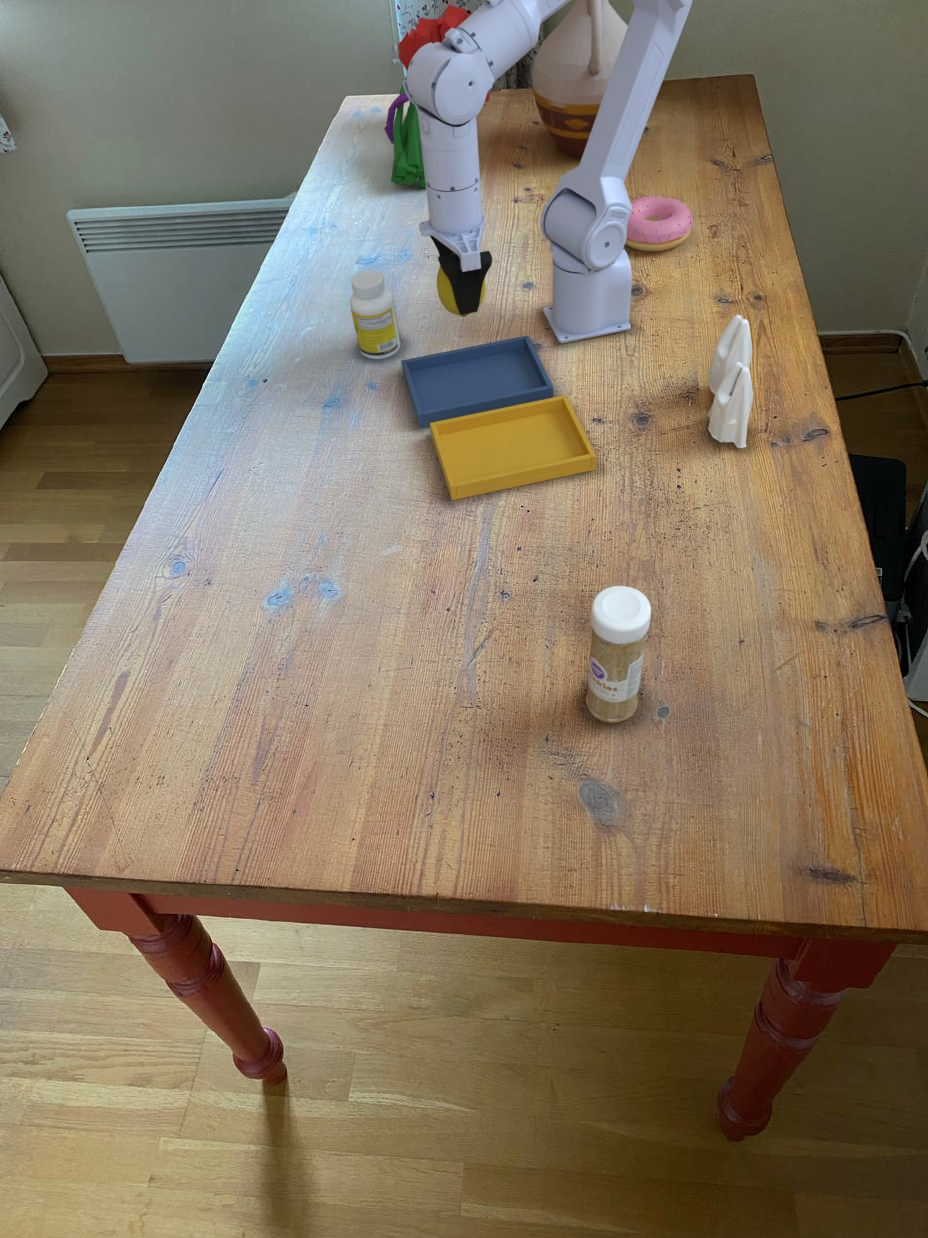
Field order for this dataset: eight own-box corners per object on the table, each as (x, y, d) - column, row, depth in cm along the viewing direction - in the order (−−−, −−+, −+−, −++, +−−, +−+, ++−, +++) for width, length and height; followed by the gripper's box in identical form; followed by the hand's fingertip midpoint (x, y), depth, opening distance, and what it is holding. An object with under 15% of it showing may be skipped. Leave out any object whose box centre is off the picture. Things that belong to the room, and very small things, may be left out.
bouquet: (374, 225, 148) (412, 109, 161) (470, 228, 145) (501, 109, 157) (345, 113, 131) (391, -8, 143) (454, 114, 127) (491, -10, 140)
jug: (649, 173, 139) (669, -61, 116) (535, 181, 140) (532, -49, 117) (636, 119, 151) (651, -102, 128) (531, 127, 153) (527, -90, 129)
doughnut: (669, 211, 131) (672, 182, 128) (705, 245, 124) (709, 216, 121) (601, 228, 130) (602, 199, 126) (633, 263, 123) (636, 234, 120)
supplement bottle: (368, 334, 117) (355, 264, 110) (406, 338, 116) (396, 268, 108) (353, 358, 114) (338, 288, 106) (392, 362, 113) (381, 292, 105)
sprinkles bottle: (575, 707, 78) (579, 610, 68) (605, 673, 80) (613, 574, 70) (619, 734, 76) (630, 638, 66) (648, 699, 78) (663, 600, 68)
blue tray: (528, 348, 112) (528, 334, 111) (553, 401, 105) (553, 387, 104) (403, 373, 111) (401, 360, 109) (420, 428, 104) (418, 414, 102)
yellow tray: (566, 408, 104) (566, 394, 103) (595, 469, 97) (596, 455, 96) (431, 436, 103) (429, 422, 101) (451, 500, 96) (450, 486, 94)
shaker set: (705, 380, 105) (719, 296, 97) (742, 381, 105) (759, 296, 96) (707, 447, 98) (722, 361, 90) (746, 448, 97) (765, 363, 89)
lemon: (482, 330, 102) (477, 265, 96) (435, 328, 103) (428, 263, 97) (491, 304, 106) (487, 239, 100) (446, 302, 107) (439, 238, 101)
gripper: (403, 155, 97) (417, 272, 107) (427, 217, 87) (441, 338, 98) (466, 144, 97) (474, 261, 108) (497, 205, 88) (503, 326, 98)
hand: (462, 297), depth 103 cm, fingers closed on lemon, 5 cm apart
